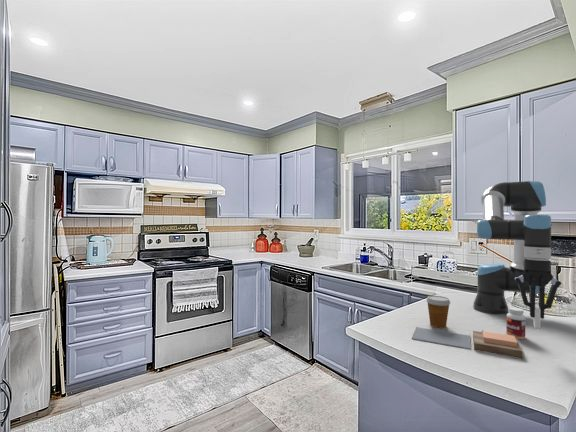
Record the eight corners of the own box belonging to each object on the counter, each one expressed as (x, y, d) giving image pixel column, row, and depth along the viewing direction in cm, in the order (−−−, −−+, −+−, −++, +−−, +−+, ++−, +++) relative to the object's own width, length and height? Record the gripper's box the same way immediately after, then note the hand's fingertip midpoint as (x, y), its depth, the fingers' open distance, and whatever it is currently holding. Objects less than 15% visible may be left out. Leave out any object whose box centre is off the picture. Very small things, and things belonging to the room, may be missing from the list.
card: (482, 335, 123) (482, 331, 123) (514, 339, 118) (514, 335, 118) (483, 341, 116) (483, 337, 116) (517, 346, 112) (517, 342, 112)
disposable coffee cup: (422, 325, 140) (423, 298, 140) (430, 320, 147) (430, 294, 147) (446, 331, 134) (446, 302, 134) (453, 325, 141) (453, 298, 141)
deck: (473, 337, 127) (473, 330, 127) (516, 344, 120) (516, 337, 120) (474, 350, 115) (474, 343, 115) (522, 358, 108) (522, 351, 108)
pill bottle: (503, 335, 129) (503, 307, 129) (511, 332, 132) (511, 305, 132) (520, 340, 124) (520, 312, 124) (528, 337, 127) (528, 309, 127)
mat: (416, 328, 137) (416, 327, 137) (470, 336, 128) (470, 335, 128) (411, 339, 125) (411, 338, 125) (470, 349, 115) (470, 348, 115)
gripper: (516, 258, 112) (515, 327, 111) (564, 261, 105) (564, 333, 105) (512, 256, 118) (512, 321, 118) (558, 259, 112) (558, 327, 112)
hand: (536, 327), depth 112 cm, fingers closed
